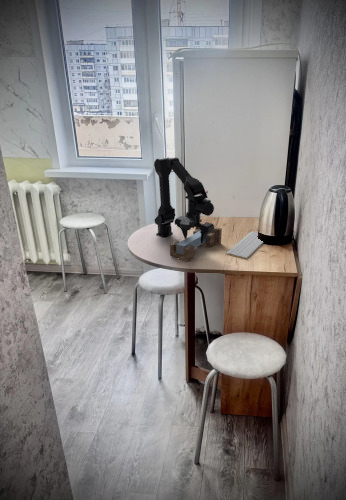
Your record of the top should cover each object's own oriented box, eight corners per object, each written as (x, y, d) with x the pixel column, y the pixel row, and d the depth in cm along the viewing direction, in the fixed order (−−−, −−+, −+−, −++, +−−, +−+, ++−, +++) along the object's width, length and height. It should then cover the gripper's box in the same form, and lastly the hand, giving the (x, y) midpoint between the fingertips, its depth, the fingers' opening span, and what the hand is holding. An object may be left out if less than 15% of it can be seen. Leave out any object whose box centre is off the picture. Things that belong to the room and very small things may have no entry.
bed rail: (176, 252, 177) (176, 244, 175) (202, 237, 193) (202, 229, 191) (183, 255, 175) (183, 246, 173) (209, 239, 191) (209, 231, 189)
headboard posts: (166, 254, 180) (166, 239, 176) (197, 237, 199) (197, 222, 195) (191, 263, 172) (191, 246, 169) (221, 243, 191) (221, 228, 188)
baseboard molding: (222, 254, 182) (246, 260, 176) (222, 248, 180) (246, 255, 174) (248, 232, 205) (269, 237, 199) (248, 227, 204) (270, 232, 198)
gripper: (167, 210, 175) (167, 241, 182) (201, 218, 165) (200, 251, 172) (181, 204, 183) (181, 234, 190) (215, 211, 173) (213, 243, 180)
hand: (193, 240), depth 183 cm, fingers open, 9 cm apart
